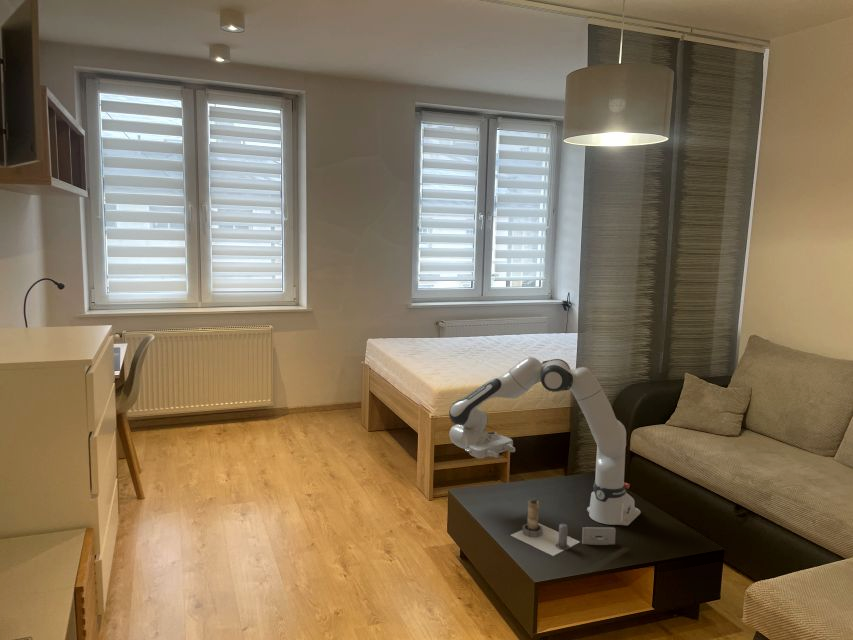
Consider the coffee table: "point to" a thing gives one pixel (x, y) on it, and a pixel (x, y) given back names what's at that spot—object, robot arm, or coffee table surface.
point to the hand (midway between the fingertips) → (506, 452)
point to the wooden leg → (533, 515)
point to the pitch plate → (547, 538)
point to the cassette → (598, 531)
